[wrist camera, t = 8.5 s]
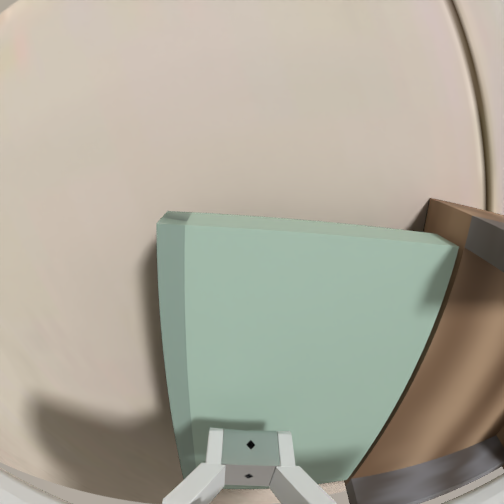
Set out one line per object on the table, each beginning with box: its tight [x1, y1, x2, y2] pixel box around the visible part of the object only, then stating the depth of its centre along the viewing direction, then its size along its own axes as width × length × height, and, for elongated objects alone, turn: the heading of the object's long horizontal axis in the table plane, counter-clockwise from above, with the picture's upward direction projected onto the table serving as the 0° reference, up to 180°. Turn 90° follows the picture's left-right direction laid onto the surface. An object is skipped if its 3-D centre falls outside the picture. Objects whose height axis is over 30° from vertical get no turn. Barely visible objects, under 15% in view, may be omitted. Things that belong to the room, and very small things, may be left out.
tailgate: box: [157, 211, 459, 489], centre depth 12 cm, size 2×16×10 cm
